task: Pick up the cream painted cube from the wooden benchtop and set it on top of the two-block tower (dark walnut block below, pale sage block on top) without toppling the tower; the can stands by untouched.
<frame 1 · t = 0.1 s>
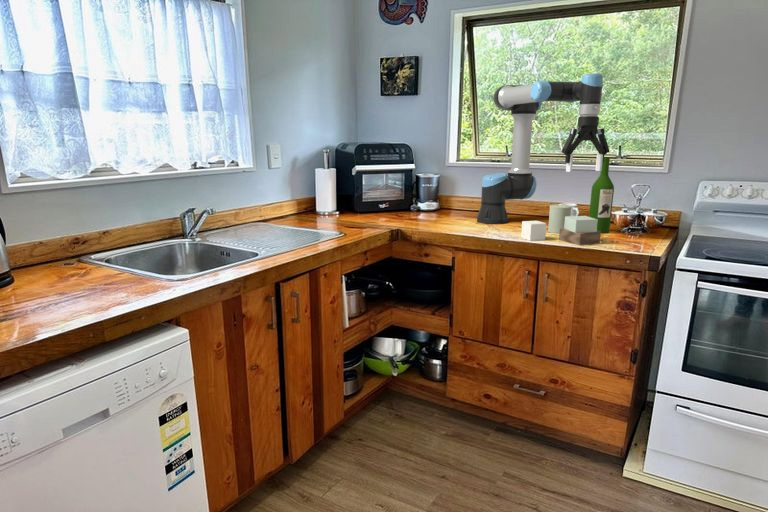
hand: (583, 171, 196), 28 cm above the worktop, fingers open, 13 cm apart
mug: (569, 225, 235), on the worktop
base block: (579, 242, 200), on the worktop, touching top block
cube: (532, 238, 206), on the worktop
wine bottle: (598, 232, 219), on the worktop
can: (558, 232, 220), on the worktop
top block: (580, 230, 199), point 5 cm above the worktop, touching base block
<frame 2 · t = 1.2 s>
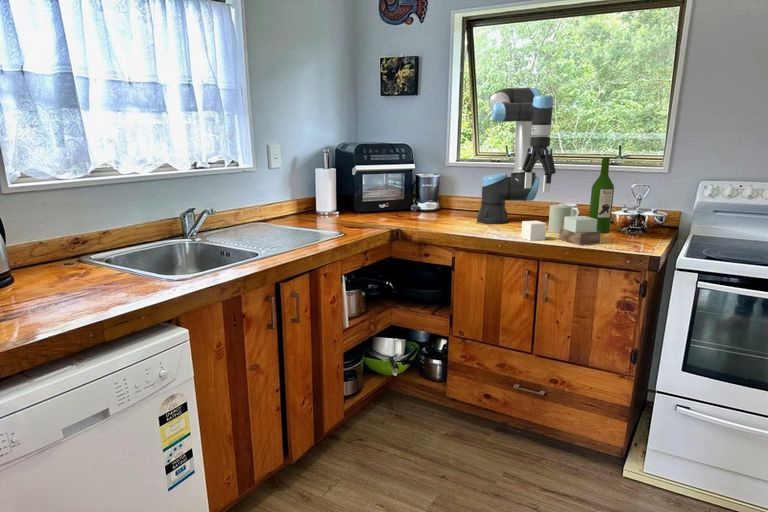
hand: (536, 190, 201), 20 cm above the worktop, fingers open, 13 cm apart
base block: (579, 242, 200), on the worktop
top block: (579, 230, 199), point 5 cm above the worktop
everything else where it was.
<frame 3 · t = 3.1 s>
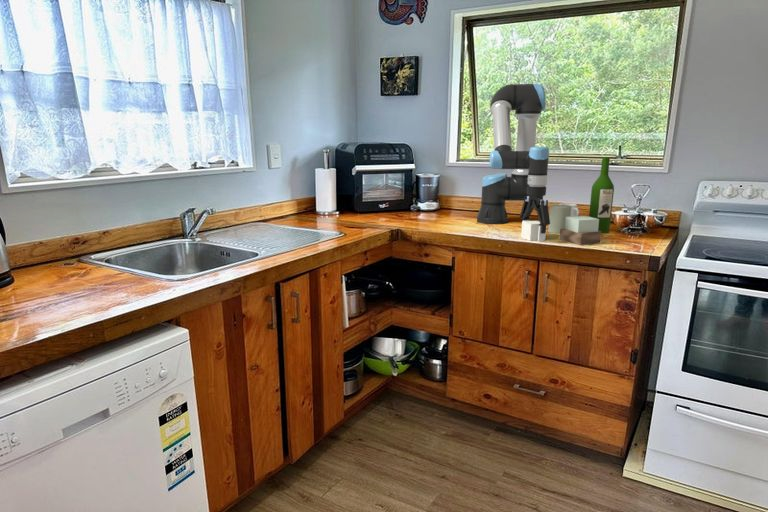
hand: (533, 238, 205), 0 cm above the worktop, fingers open, 11 cm apart
nothing on the worktop moved.
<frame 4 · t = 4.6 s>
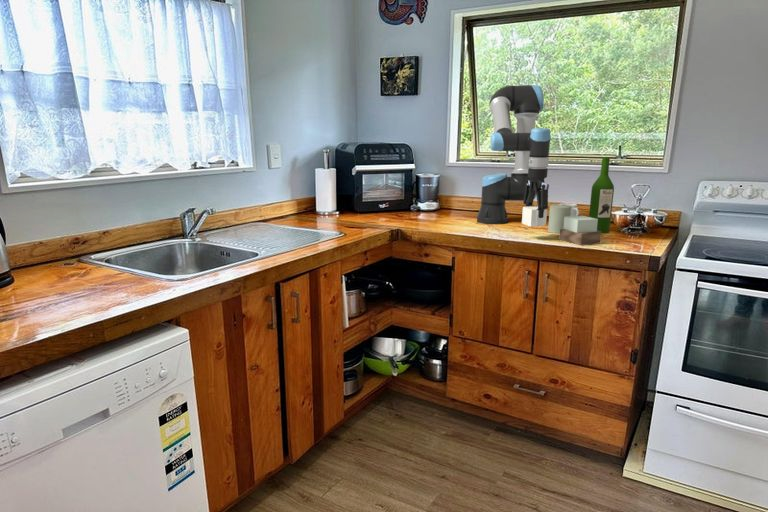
hand: (533, 223, 205), 6 cm above the worktop, fingers closed on cube, 7 cm apart
base block: (579, 242, 200), on the worktop, touching top block
cube: (533, 224, 205), point 6 cm above the worktop, touching gripper
top block: (579, 230, 199), point 5 cm above the worktop, touching base block
everything else where it was.
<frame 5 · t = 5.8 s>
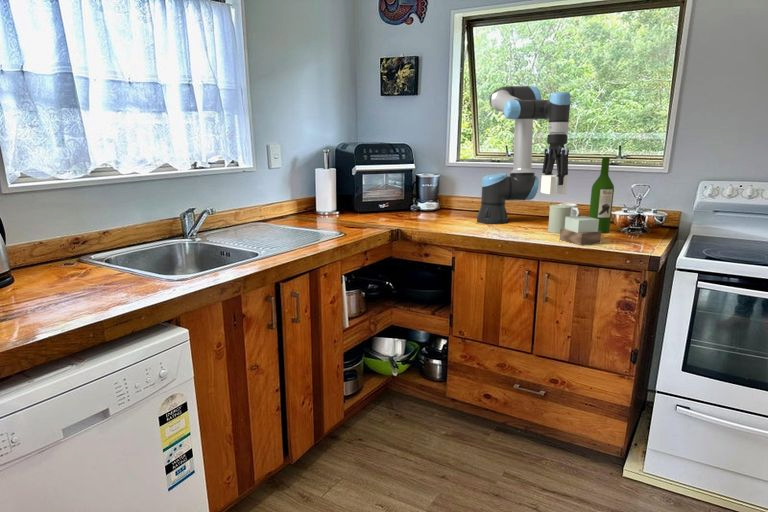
hand: (553, 192, 198), 20 cm above the worktop, fingers closed on cube, 7 cm apart
base block: (579, 242, 200), on the worktop
cube: (552, 193, 198), point 19 cm above the worktop, touching gripper
top block: (580, 230, 199), point 5 cm above the worktop
everything else where it was.
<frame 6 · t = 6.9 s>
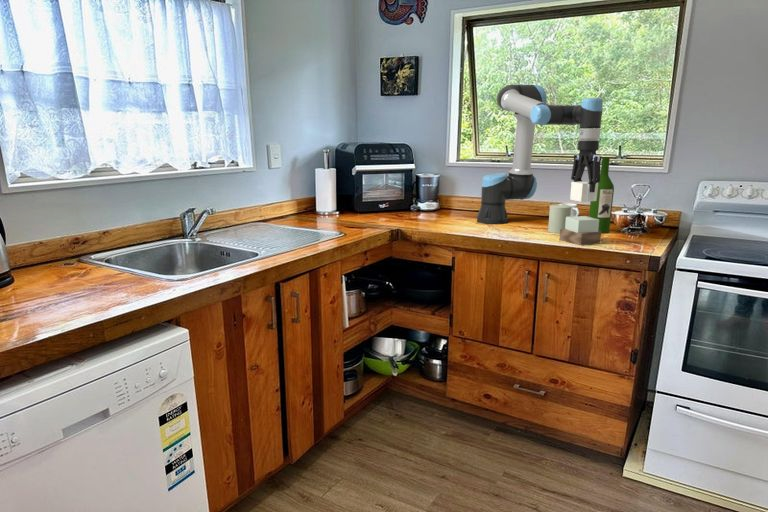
hand: (583, 199, 196), 17 cm above the worktop, fingers closed on cube, 7 cm apart
base block: (579, 242, 200), on the worktop, touching top block
cube: (583, 200, 196), point 17 cm above the worktop, touching gripper
top block: (581, 230, 199), point 5 cm above the worktop, touching base block
everything else where it was.
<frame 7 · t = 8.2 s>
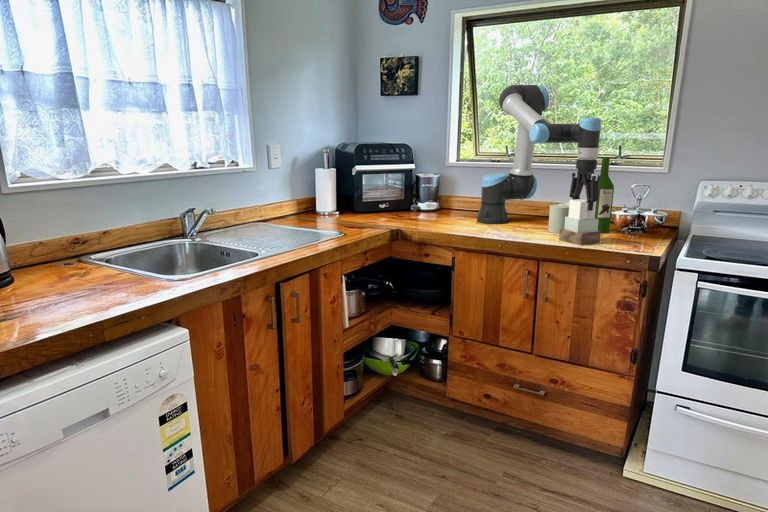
hand: (581, 216, 198), 10 cm above the worktop, fingers closed on cube, 7 cm apart
cube: (581, 217, 198), point 10 cm above the worktop, touching gripper
everything else where it was.
when the fingers open (10 cm above the worktop, at t = 8.4 s): cube stays where it is, resting on top block.
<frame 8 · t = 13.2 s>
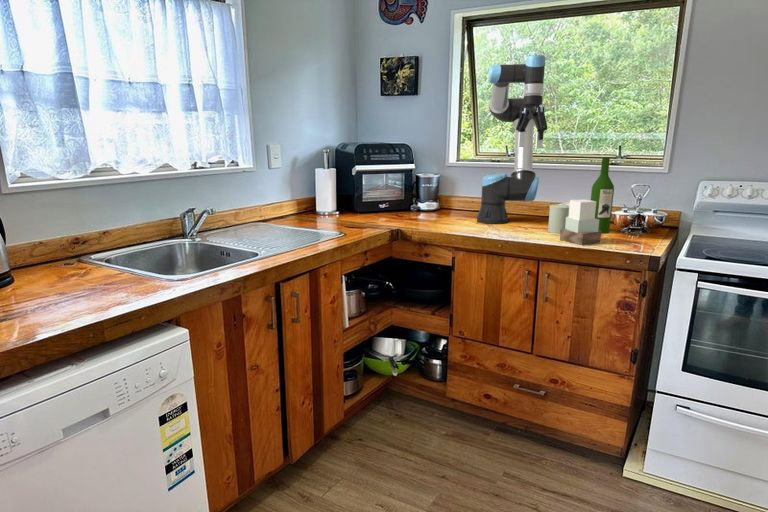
hand: (529, 147, 209), 37 cm above the worktop, fingers open, 13 cm apart
cube: (581, 218, 198), point 10 cm above the worktop, touching top block
top block: (581, 230, 199), point 5 cm above the worktop, touching base block, cube
everything else where it was.
at the end: cube 0.6 cm from the top block (horizontally); cube point 9.6 cm above the worktop; top block tilted 0° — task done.
